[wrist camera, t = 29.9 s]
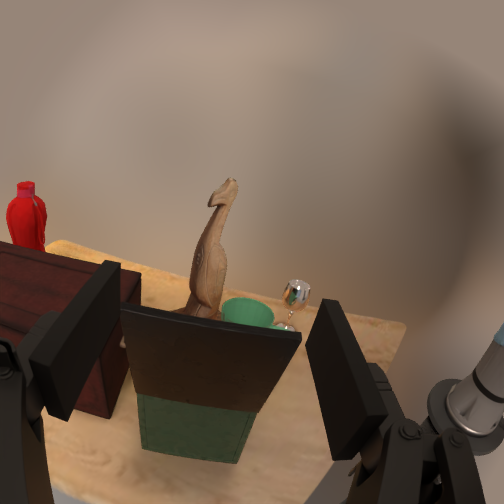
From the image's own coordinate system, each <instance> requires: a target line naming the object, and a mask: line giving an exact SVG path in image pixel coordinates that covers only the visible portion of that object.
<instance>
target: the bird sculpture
mask: <svg viewBox="0 0 504 504" xmlns="http://www.w3.org/2000/svg"><path fill="white" fill-rule="evenodd" d="M237 191H238V185H237V183H236V180H235V179H233V178H228V179H227V180H226V182H225V183H224V184H223V185H222V186H221V187H220V188H219V189H217V190H216V191H214V193H213V194H212V196H211V198H210V199H209V202H208V207H214V206H217V208H216V210H215V211H214V213H213V215H212V217H211V218H210V220H209V222H208V224H207V226H206V227H205V229H204V232H203V233H202V235H201V237H200V239H199V242H198V244H197V247H196V250H195V253H194V258H193V263H192V268H191V275H190V281H189V287H190V290H191V294H190V297H189V299H188V302H187V304H186V307H184V308H181V309H178V310H174V311H171V312H175V313H180V314H186V315H191V316H197V317H202V318H208V319H214V320H220V321H222V319H221V312H220V311H219V305H220V301H221V296H222V291H223V285H224V281H225V276H226V270H227V259H226V254H225V251H224V249H223V248H222V246H221V245H220V243H219V240H220V237H221V233H222V230H223V226H224V223H225V221H226V218H227V215H228V212H229V210H230V207H231V205H232V203H233V201H234V199H235V197H236V195H237ZM217 315H218V316H217Z"/></svg>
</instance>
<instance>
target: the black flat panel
mask: <svg viewBox="0 0 504 504" xmlns="http://www.w3.org/2000/svg"><path fill="white" fill-rule="evenodd" d="M120 318H121V324H122V330H123V336H124V341H125V346H126V351H127V356H128V361H129V365H130V370H131V374H132V379H133V383H134V387H135V391H136V393H139V394H143V395H147V396H152V397H156V398H161V399H166V400H171V401H177V402H182V403H188V404H194V405H200V406H206V407H213V408H220V409H228V410H236V411H245V412H255V413H259V411H260V410H261V408H262V406H263V405H264V403H265V402H266V400H267V398H268V397H269V395H270V394H271V392H272V390H273V389H274V387H275V386H276V384H277V382H278V381H279V379H280V377H281V376H282V374H283V372H284V371H285V369H286V367H287V366H288V364H289V362H290V360H291V359H292V357H293V355H294V354H295V352H296V350H297V348H298V347H299V345H300V343H301V341H302V335H301V332H295V331H287V330H280V329H272V328H265V327H258V326H251V325H245V324H238V323H232V322H226V321H220V320H214V319H208V318H202V317H197V316H191V315H186V314H180V313H175V312H170V311H165V310H160V309H155V308H150V307H145V306H141V305H136V304H131V303H127V302H122V303H121V315H120Z"/></svg>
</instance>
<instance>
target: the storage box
mask: <svg viewBox="0 0 504 504" xmlns="http://www.w3.org/2000/svg"><path fill="white" fill-rule="evenodd" d="M100 265H101V264H96V263H92V262H87V261H82V260H78V259H73V258H69V257H65V256H60V255H56V254H51V253H47V252H43V251H39V250H34V249H30V248H26V247H22V246H18V245H14V244H10V243H6V242H2V241H0V337H3V338H7V339H9V340H10V341H12V342H13V344H14V345H15V348H16V347H17V346H18V345H19V343H20V342H21V341H22V339H23V338H24V337H25V336H26V334H27V333H29V330H30V329H31V328H32V327H33V326H34V324H35V323H36V322H37V321H38V319H39V318H40V317H41V316H42V315H44V314H46V313H47V312H49V311H51V310H53V311H57V312H60V313H62V312H63V310H64V309H65V308H66V307H67V305H68V304H69V303H70V301H71V300H72V299H73V298H74V296H75V295H76V294H77V293H78V291H79V290H80V289H81V288H82V287H83V285H84V284H85V283H86V282H87V281H88V279H89V278H90V277H91V276H92V275H93V273H94V272H95V271H96V270H97V269H98V268H99V266H100ZM122 302H127V303H131V304H136V305H141V273H140V272H135V271H130V270H125V269H121V303H122ZM128 368H129V361H128V356H127V351H126V346H125V341H124V336H123V330H122V324H121V318H120V316H119V318H118V320H117V322H116V324H115V326H114V328H113V329H112V331H111V333H110V335H109V337H108V339H107V341H106V343H105V345H104V347H103V349H102V351H101V353H100V354H99V356H98V358H97V360H96V362H95V364H94V366H93V368H92V371H91V373H90V375H89V377H88V379H87V381H86V383H85V385H84V387H83V389H82V391H81V393H80V396H79V398H78V400H77V402H76V404H75V407H74V409H77V410H80V411H83V412H86V413H89V414H93V415H96V416H99V417H103V418H106V419H110V418H111V415H112V412H113V410H114V407H115V404H116V401H117V398H118V395H119V392H120V390H121V387H122V384H123V381H124V379H125V376H126V373H127V370H128Z"/></svg>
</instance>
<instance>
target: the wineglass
mask: <svg viewBox="0 0 504 504" xmlns="http://www.w3.org/2000/svg"><path fill="white" fill-rule="evenodd" d="M309 297H310V286H309V285H308V284H307V283H306V282H304V281H301V280H291V281H290V282H289V283H288V285H287V287H286V289H285V291H284V293H283V297H282V303H283V305H284V307H285V308H286V309H288V310H289V313H288V320H287V323H286V324H285V323H280V324H278V325H277V326H279V327H283V328H286V329H288V330H290V331H295V330H294V328H293V327H292V326H291V325H289V324H288V323H289V320H290V318H291V316H292V315H293V312H300V311H302V310H303V309H305V307H306V306H307V304H308V301H309Z"/></svg>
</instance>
